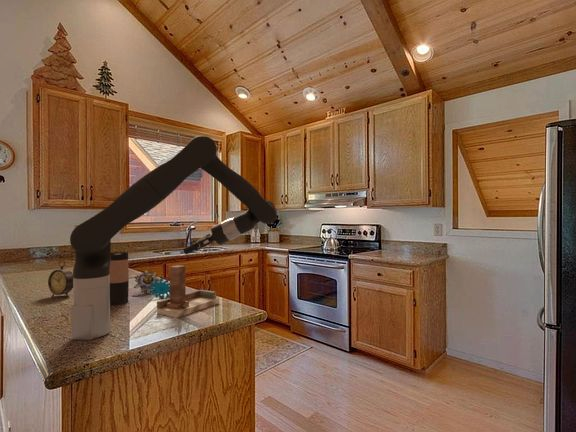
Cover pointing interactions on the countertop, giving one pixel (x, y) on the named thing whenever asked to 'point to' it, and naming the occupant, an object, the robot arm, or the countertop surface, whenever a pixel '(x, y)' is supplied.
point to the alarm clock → (61, 281)
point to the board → (196, 302)
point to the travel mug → (119, 278)
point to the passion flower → (146, 281)
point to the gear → (160, 288)
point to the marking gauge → (177, 288)
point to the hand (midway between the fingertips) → (188, 249)
